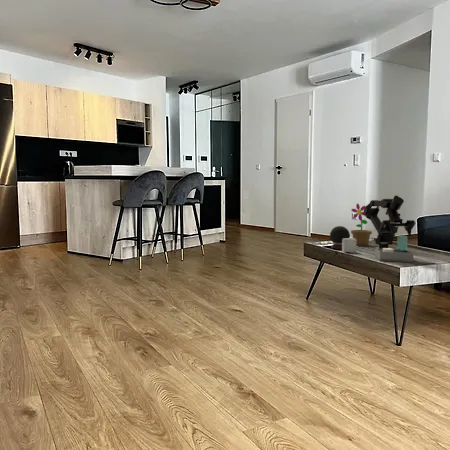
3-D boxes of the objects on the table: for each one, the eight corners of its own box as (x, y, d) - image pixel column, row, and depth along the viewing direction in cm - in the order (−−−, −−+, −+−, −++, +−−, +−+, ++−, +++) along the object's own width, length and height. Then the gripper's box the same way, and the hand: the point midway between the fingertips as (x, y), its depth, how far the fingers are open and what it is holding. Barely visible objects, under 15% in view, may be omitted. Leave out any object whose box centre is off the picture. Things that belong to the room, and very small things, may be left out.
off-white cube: (382, 256, 243) (382, 248, 242) (391, 256, 242) (391, 248, 241) (384, 258, 238) (384, 249, 237) (393, 258, 237) (393, 249, 236)
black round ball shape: (353, 248, 284) (354, 226, 283) (341, 249, 277) (341, 227, 275) (337, 246, 295) (338, 225, 294) (325, 247, 287) (326, 225, 286)
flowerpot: (346, 244, 303) (347, 203, 301) (357, 243, 313) (358, 202, 310) (364, 246, 292) (366, 203, 290) (375, 245, 302) (376, 203, 300)
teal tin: (396, 257, 239) (397, 235, 238) (406, 257, 238) (407, 236, 236) (396, 258, 235) (397, 236, 233) (406, 259, 233) (407, 237, 231)
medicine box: (353, 251, 269) (354, 238, 268) (356, 252, 264) (356, 239, 264) (341, 251, 269) (342, 238, 268) (343, 252, 264) (344, 239, 263)
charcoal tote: (375, 257, 247) (375, 248, 247) (406, 257, 244) (407, 249, 244) (379, 260, 234) (380, 251, 234) (413, 261, 231) (413, 252, 231)
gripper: (403, 224, 252) (412, 245, 242) (373, 224, 251) (381, 245, 241) (411, 212, 244) (420, 232, 233) (380, 212, 242) (388, 232, 232)
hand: (402, 236), depth 235 cm, fingers open, 9 cm apart
